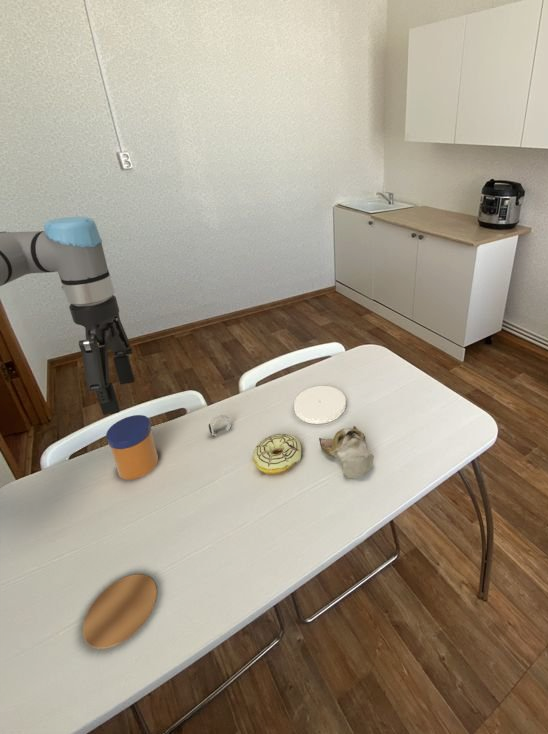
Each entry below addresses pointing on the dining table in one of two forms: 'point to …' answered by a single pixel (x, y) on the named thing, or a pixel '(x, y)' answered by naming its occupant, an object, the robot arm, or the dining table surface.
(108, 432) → the jar lid
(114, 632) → the wooden coaster
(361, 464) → the ceramic sculpture
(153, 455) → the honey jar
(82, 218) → the robot arm
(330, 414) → the plastic lid
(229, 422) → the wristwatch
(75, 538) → the dining table surface
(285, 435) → the decorated donut
